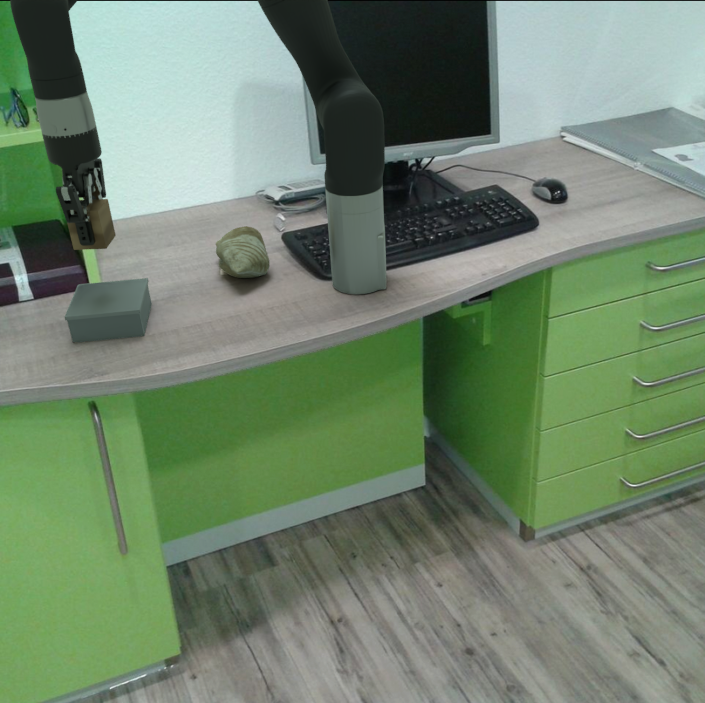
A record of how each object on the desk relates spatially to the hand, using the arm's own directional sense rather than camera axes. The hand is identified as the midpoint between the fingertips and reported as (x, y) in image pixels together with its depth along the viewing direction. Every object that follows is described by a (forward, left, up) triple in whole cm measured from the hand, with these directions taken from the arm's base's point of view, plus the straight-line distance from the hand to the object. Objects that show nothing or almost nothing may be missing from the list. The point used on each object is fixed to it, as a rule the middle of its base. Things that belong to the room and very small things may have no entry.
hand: (93, 236), depth 126 cm
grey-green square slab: (0, 0, -15) cm, 15 cm away
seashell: (-19, -18, -15) cm, 30 cm away
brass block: (0, 0, -1) cm, 1 cm away
